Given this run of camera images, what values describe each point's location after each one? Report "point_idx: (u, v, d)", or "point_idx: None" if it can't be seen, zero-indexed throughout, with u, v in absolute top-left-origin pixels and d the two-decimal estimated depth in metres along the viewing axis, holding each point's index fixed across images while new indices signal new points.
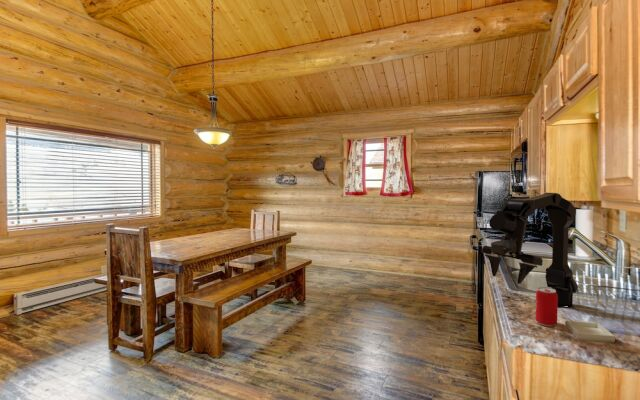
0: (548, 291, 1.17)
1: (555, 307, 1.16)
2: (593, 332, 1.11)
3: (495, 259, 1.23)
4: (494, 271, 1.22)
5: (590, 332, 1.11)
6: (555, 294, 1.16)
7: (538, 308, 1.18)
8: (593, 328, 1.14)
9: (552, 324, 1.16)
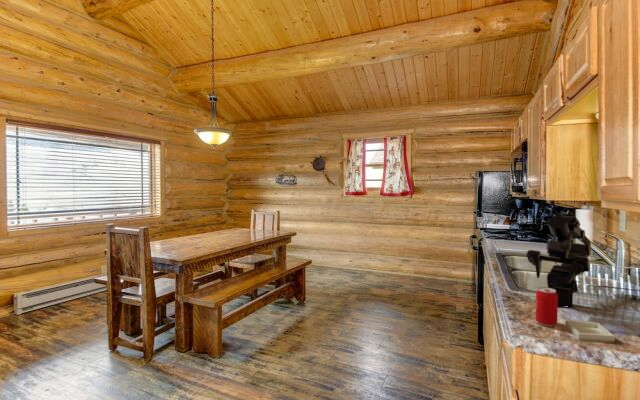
0: (548, 291, 1.17)
1: (555, 307, 1.16)
2: (593, 332, 1.11)
3: (539, 263, 1.29)
4: (539, 273, 1.27)
5: (590, 332, 1.11)
6: (555, 294, 1.16)
7: (538, 308, 1.18)
8: (593, 328, 1.14)
9: (552, 324, 1.16)
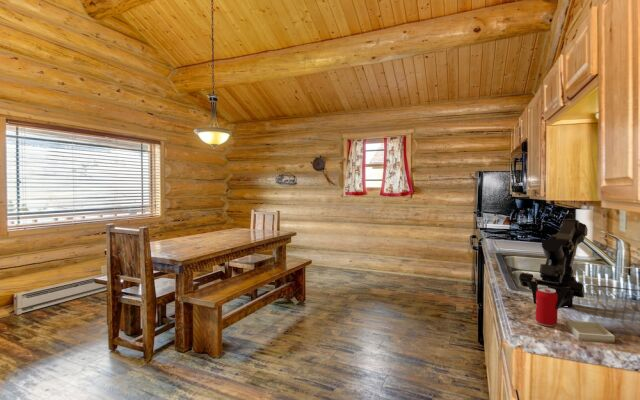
0: (548, 291, 1.17)
1: (555, 307, 1.16)
2: (593, 332, 1.11)
3: (536, 288, 1.23)
4: None
5: (590, 332, 1.11)
6: (555, 294, 1.16)
7: (538, 308, 1.18)
8: (593, 328, 1.14)
9: (552, 324, 1.16)
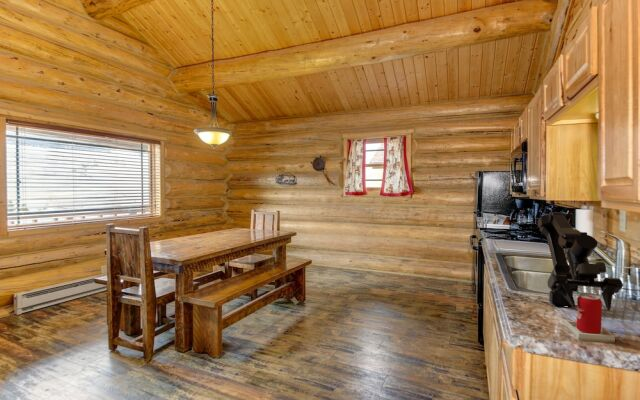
0: (594, 297, 1.09)
1: (601, 313, 1.09)
2: None
3: None
4: None
5: None
6: (600, 299, 1.09)
7: (586, 317, 1.09)
8: None
9: (600, 332, 1.08)
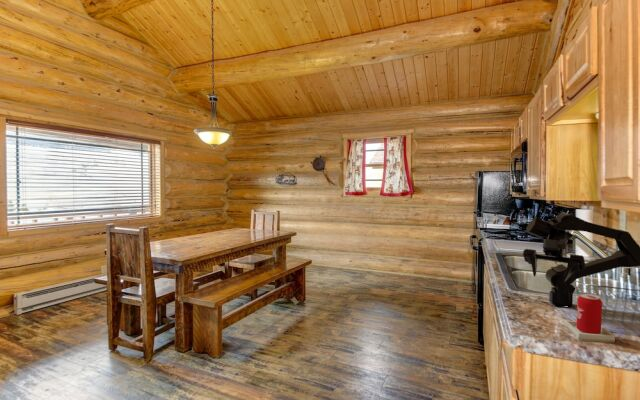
0: (594, 297, 1.09)
1: (601, 313, 1.09)
2: None
3: (535, 262, 1.31)
4: (535, 271, 1.29)
5: None
6: (600, 299, 1.09)
7: (586, 317, 1.09)
8: None
9: (600, 332, 1.08)
